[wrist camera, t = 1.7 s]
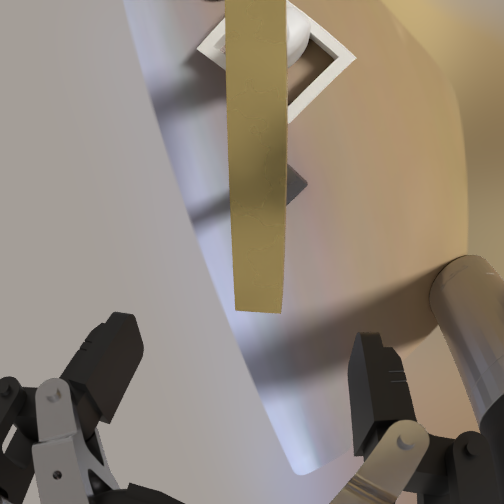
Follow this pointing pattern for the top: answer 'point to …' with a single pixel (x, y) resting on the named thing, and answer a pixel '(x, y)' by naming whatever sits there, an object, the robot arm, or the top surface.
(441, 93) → the top surface
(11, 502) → the robot arm
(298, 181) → the key plate
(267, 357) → the top surface
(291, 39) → the eye dropper bottle
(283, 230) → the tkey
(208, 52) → the white rectangular frame
